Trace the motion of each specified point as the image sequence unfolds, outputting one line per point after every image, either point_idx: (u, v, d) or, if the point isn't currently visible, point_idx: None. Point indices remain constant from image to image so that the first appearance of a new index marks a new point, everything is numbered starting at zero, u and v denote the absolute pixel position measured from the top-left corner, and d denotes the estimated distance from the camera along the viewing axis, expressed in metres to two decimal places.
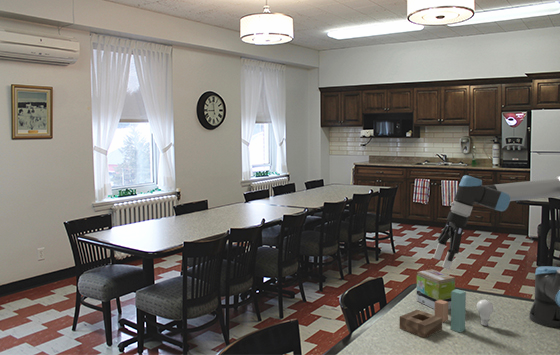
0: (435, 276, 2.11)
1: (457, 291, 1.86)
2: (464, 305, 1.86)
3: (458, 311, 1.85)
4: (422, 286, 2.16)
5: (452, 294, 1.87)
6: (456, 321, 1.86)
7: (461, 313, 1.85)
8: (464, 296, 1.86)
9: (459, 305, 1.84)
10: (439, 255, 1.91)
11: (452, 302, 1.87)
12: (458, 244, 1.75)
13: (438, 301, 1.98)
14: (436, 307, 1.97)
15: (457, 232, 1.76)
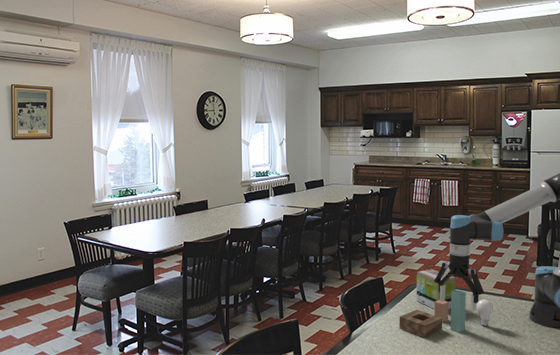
0: (435, 276, 2.11)
1: (457, 291, 1.86)
2: (464, 305, 1.86)
3: (458, 311, 1.85)
4: (422, 286, 2.16)
5: (452, 294, 1.87)
6: (456, 321, 1.86)
7: (461, 313, 1.85)
8: (464, 296, 1.86)
9: (459, 305, 1.84)
10: (443, 296, 1.92)
11: (452, 302, 1.87)
12: (480, 284, 1.80)
13: (438, 301, 1.98)
14: (436, 307, 1.97)
15: (474, 274, 1.80)
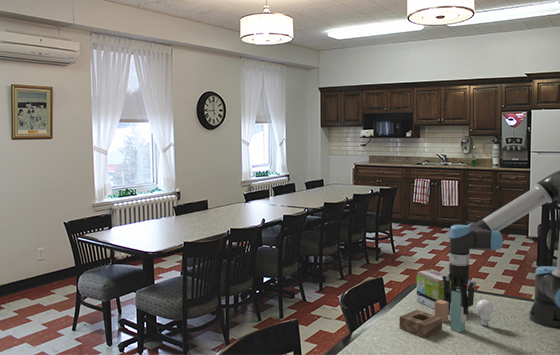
0: (435, 276, 2.11)
1: (457, 291, 1.86)
2: None
3: (457, 311, 1.85)
4: (422, 286, 2.16)
5: (452, 294, 1.87)
6: (456, 321, 1.86)
7: None
8: None
9: (459, 305, 1.84)
10: None
11: (452, 302, 1.87)
12: (472, 297, 1.82)
13: (438, 301, 1.98)
14: (436, 307, 1.97)
15: (472, 287, 1.81)
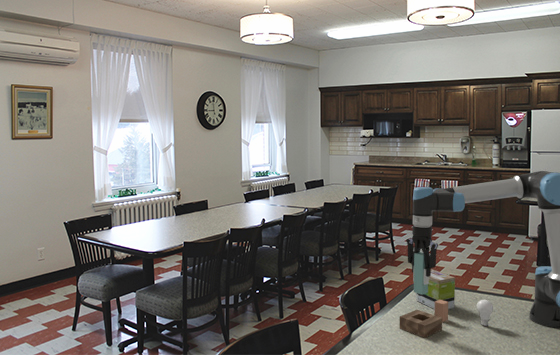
0: (435, 276, 2.11)
1: (420, 253, 1.86)
2: None
3: (420, 273, 1.85)
4: None
5: (414, 257, 1.86)
6: (418, 284, 1.85)
7: (423, 275, 1.84)
8: None
9: (421, 267, 1.84)
10: None
11: (415, 264, 1.86)
12: (435, 259, 1.82)
13: (438, 301, 1.98)
14: (436, 307, 1.97)
15: (434, 249, 1.81)
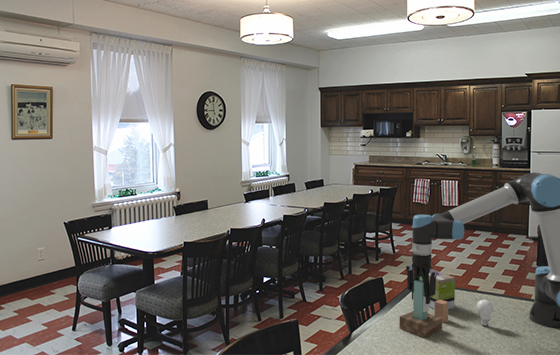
0: None
1: (420, 281, 1.87)
2: None
3: (420, 300, 1.85)
4: None
5: (414, 284, 1.87)
6: (418, 311, 1.86)
7: None
8: None
9: (421, 294, 1.85)
10: None
11: (415, 292, 1.87)
12: (434, 287, 1.83)
13: (438, 301, 1.98)
14: (436, 307, 1.97)
15: (433, 277, 1.82)
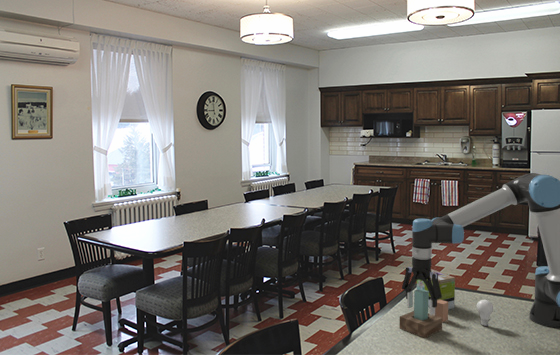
0: None
1: (420, 291, 1.87)
2: (427, 305, 1.87)
3: (420, 310, 1.86)
4: (422, 286, 2.16)
5: (414, 294, 1.87)
6: None
7: (423, 312, 1.86)
8: (427, 296, 1.87)
9: (421, 304, 1.85)
10: (411, 302, 1.92)
11: (415, 302, 1.88)
12: (439, 289, 1.81)
13: (438, 301, 1.98)
14: (436, 307, 1.97)
15: (435, 278, 1.81)
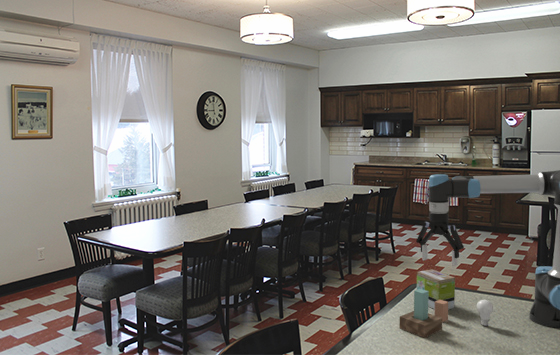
0: (435, 276, 2.11)
1: (420, 291, 1.87)
2: (427, 305, 1.87)
3: (420, 310, 1.86)
4: (422, 286, 2.16)
5: (414, 294, 1.87)
6: None
7: (423, 312, 1.86)
8: (427, 296, 1.86)
9: (421, 305, 1.85)
10: (426, 255, 1.96)
11: (415, 302, 1.87)
12: (460, 240, 1.84)
13: (438, 301, 1.98)
14: (436, 307, 1.97)
15: (453, 230, 1.84)
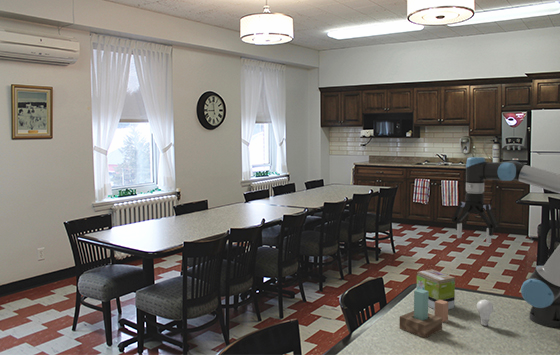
0: (435, 276, 2.11)
1: (420, 291, 1.87)
2: (427, 305, 1.87)
3: (420, 310, 1.86)
4: (422, 286, 2.16)
5: (414, 294, 1.87)
6: None
7: (423, 312, 1.86)
8: (427, 296, 1.86)
9: (421, 305, 1.85)
10: (460, 233, 2.08)
11: (415, 302, 1.88)
12: (494, 218, 1.96)
13: (438, 301, 1.98)
14: (436, 307, 1.97)
15: (489, 209, 1.96)
